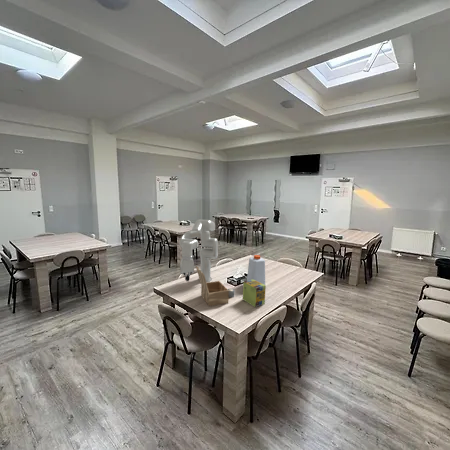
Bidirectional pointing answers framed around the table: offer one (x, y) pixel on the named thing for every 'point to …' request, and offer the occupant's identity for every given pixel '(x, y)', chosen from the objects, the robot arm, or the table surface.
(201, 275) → the box lid
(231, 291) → the grey rounded piece
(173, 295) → the table surface
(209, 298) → the wooden box
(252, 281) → the protein box
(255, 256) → the plastic bottle
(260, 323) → the table surface
